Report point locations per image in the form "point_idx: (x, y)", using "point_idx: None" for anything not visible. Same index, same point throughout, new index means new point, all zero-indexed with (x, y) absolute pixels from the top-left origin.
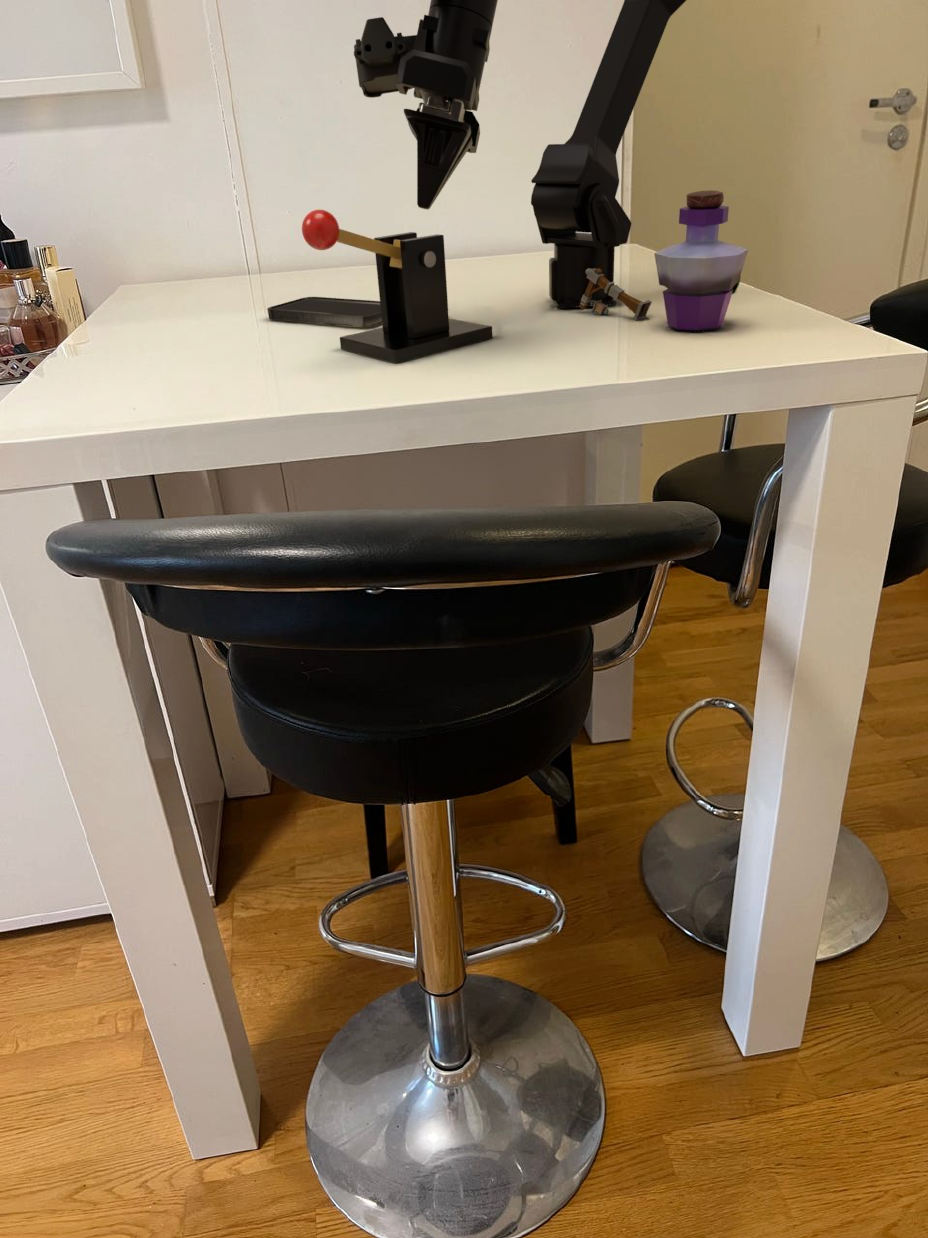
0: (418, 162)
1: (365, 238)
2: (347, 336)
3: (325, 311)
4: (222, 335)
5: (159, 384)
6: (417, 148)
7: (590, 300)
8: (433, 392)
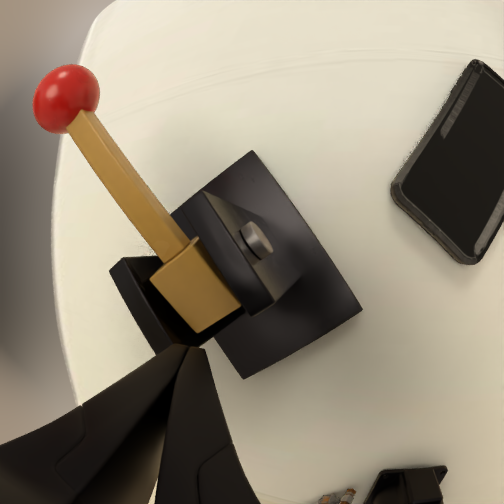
0: (74, 410)
1: (100, 178)
2: (252, 161)
3: (459, 129)
4: (390, 17)
5: (179, 17)
6: (28, 433)
7: (340, 500)
8: (71, 263)
